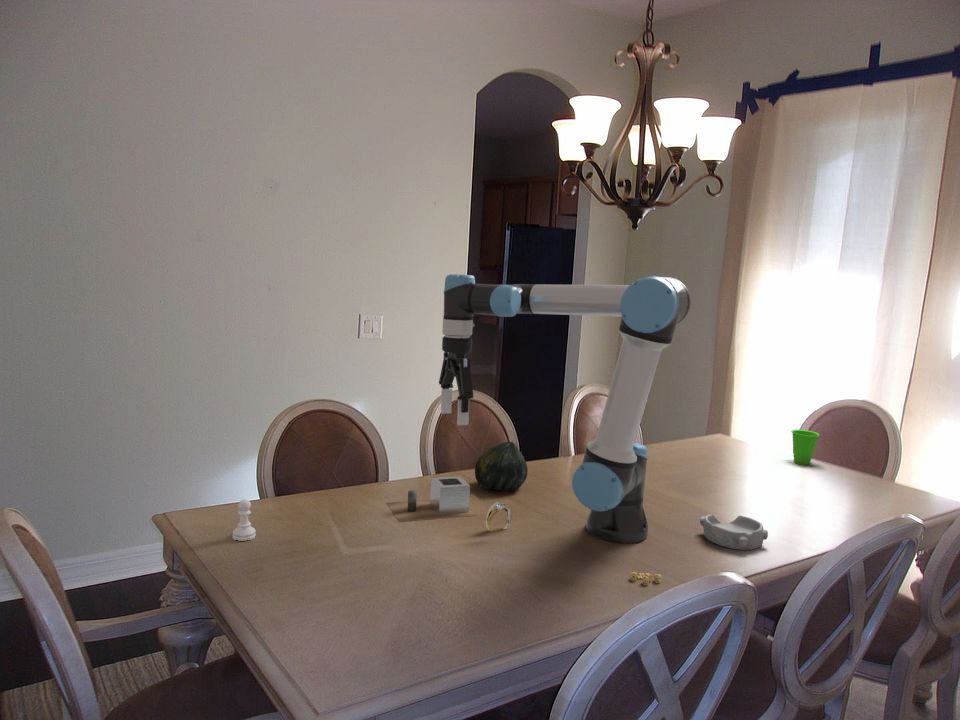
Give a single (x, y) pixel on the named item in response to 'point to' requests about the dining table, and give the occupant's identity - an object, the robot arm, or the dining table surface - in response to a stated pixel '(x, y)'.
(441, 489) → the white open box
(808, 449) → the cup
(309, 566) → the dining table surface
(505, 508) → the bracelet
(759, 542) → the dish
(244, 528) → the chess pawn
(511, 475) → the squash
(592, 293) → the robot arm
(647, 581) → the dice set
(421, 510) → the peg board
